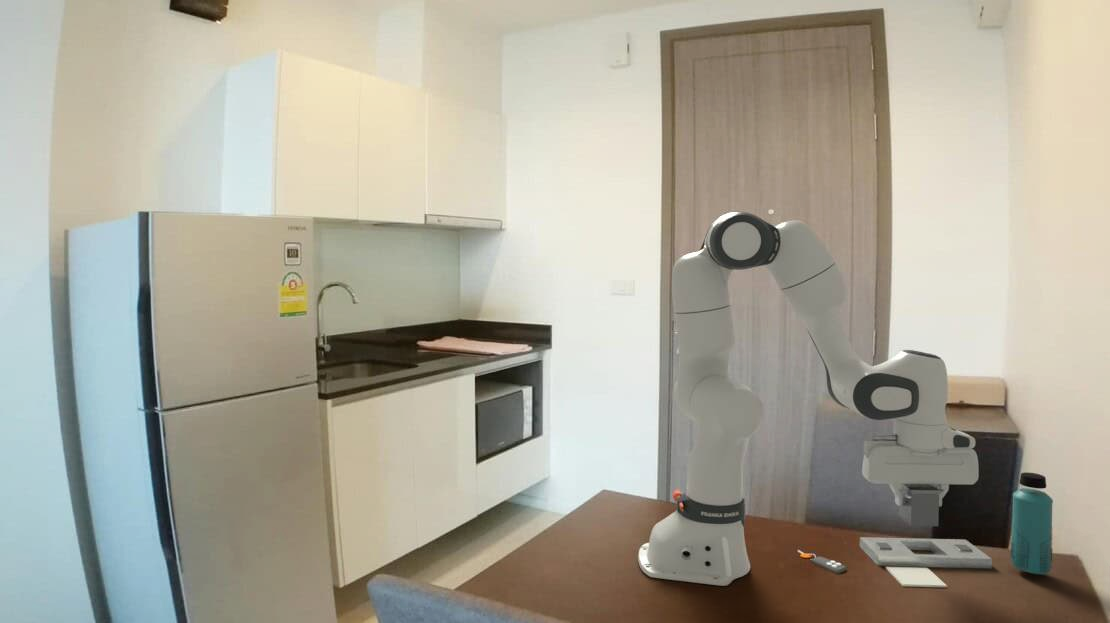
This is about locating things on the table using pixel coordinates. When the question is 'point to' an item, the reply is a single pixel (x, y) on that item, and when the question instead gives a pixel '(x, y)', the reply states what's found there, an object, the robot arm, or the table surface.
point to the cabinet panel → (946, 552)
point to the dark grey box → (920, 504)
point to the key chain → (825, 563)
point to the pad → (915, 577)
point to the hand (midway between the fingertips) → (918, 505)
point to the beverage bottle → (1032, 526)
